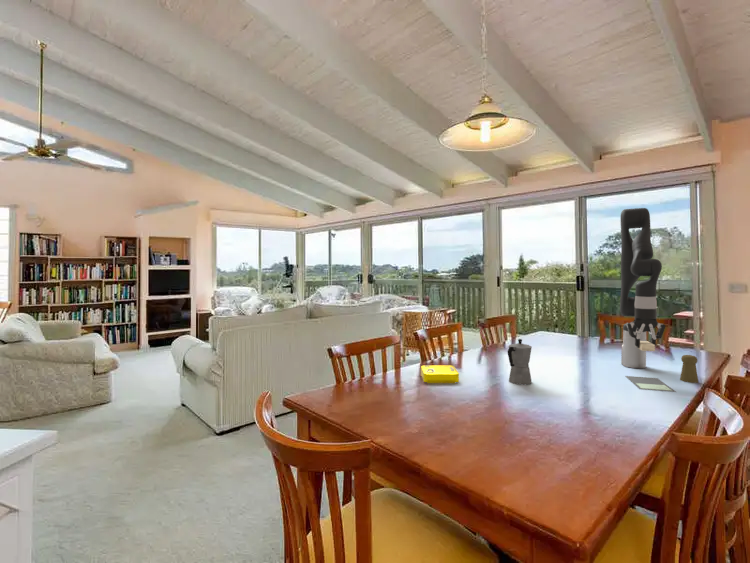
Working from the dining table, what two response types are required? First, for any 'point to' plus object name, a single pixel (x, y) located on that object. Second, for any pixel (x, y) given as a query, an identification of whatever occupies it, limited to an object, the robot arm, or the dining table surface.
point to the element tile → (439, 374)
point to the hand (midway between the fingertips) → (645, 347)
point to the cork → (689, 369)
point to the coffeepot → (519, 363)
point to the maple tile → (646, 346)
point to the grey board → (649, 384)
